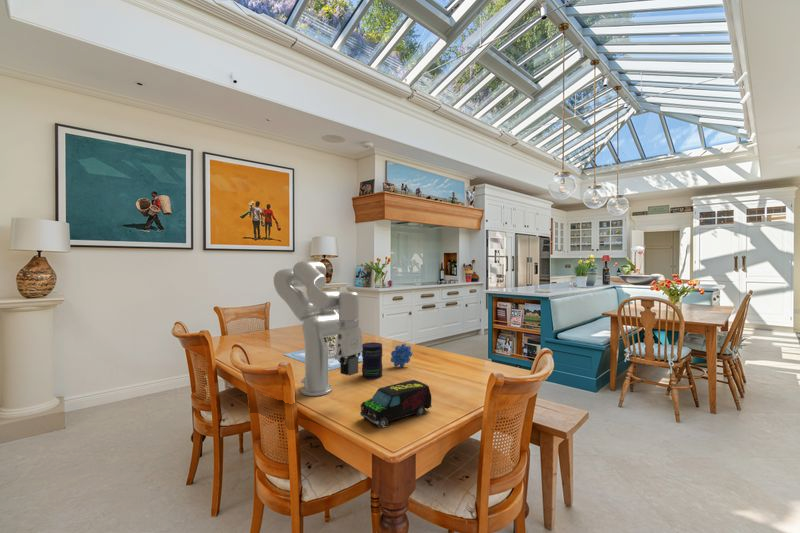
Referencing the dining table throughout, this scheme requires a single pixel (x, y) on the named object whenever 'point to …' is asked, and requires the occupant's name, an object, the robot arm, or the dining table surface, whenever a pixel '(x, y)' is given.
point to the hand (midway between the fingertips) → (349, 371)
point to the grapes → (401, 355)
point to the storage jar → (372, 360)
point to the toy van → (397, 402)
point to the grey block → (351, 365)
